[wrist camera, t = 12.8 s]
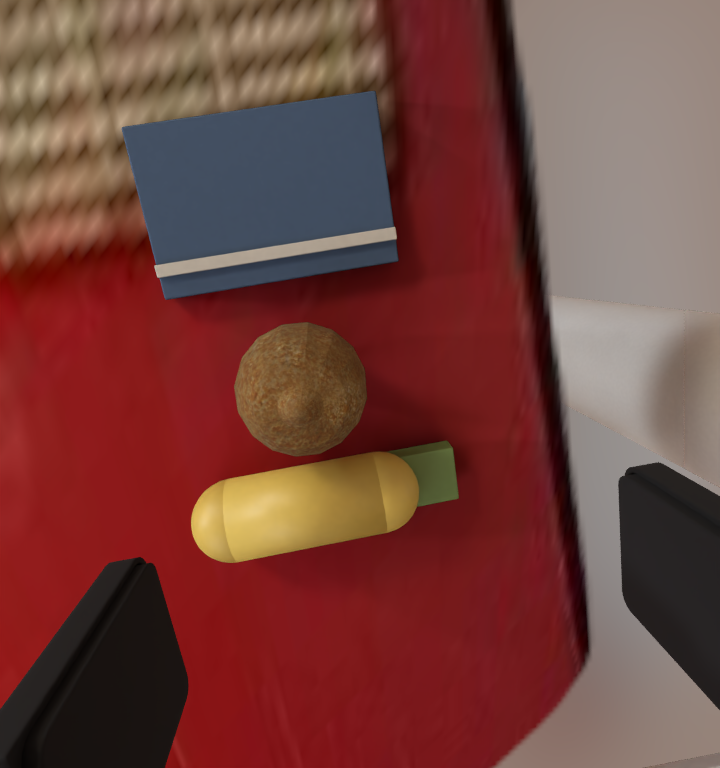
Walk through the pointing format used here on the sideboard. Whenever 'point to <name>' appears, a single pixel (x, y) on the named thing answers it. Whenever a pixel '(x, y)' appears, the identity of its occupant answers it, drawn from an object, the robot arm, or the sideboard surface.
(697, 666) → the robot arm
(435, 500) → the corn cob
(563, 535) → the sideboard surface
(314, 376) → the fruit
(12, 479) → the sideboard surface
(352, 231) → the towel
